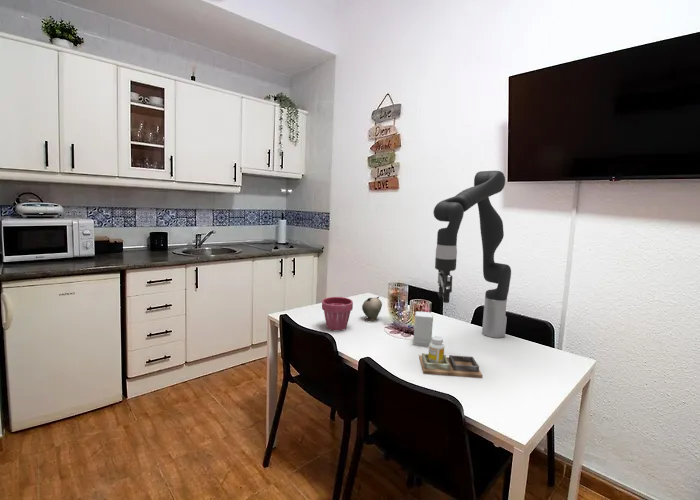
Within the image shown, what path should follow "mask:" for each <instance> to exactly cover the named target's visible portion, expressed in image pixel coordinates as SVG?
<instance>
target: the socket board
mask: <svg viewBox="0 0 700 500" xmlns="http://www.w3.org/2000/svg"><path fill="white" fill-rule="evenodd" d="M428 354H429V353H421V354H420V355H418V358H419V362H420V367H421V371H422V374H424V375H437V376H450V377H464V378H477V379H483V373H482V372H481V370H480V366H479V364H478V362H477V361H476V360H475V358H474V356H468V355H467V356H465V355H455V354H453V355H451V354H449V356H447V355H446V354H444V357H443V364H441V363H428Z"/></svg>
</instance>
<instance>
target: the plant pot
mask: <svg viewBox="0 0 700 500" xmlns="http://www.w3.org/2000/svg"><path fill="white" fill-rule="evenodd" d="M353 307H354V302H353V300H352V299H350V298H348V297H345V296H344V297H342V296H330V297H326V298H323V299H322V301H321V309H322V311H323V314H324V319H325V325H326V328H327V329H328V330H330V329H331V330H330V331H334V330H340V331H343V330H346V329H347V326H348V323H349V320H350V314H351V311H352V310H353Z"/></svg>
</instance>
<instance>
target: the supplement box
mask: <svg viewBox="0 0 700 500" xmlns="http://www.w3.org/2000/svg"><path fill="white" fill-rule="evenodd" d="M414 314H415V316H414V326H413V329H414V330H413V342H412V343H413V346H420V347H427V348H429V344H430V343H431V342H432V341H431V339H432V337H433V324H434V315H433V312H430V311H429V312H428V311H427V312H426V311H415V313H414Z"/></svg>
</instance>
